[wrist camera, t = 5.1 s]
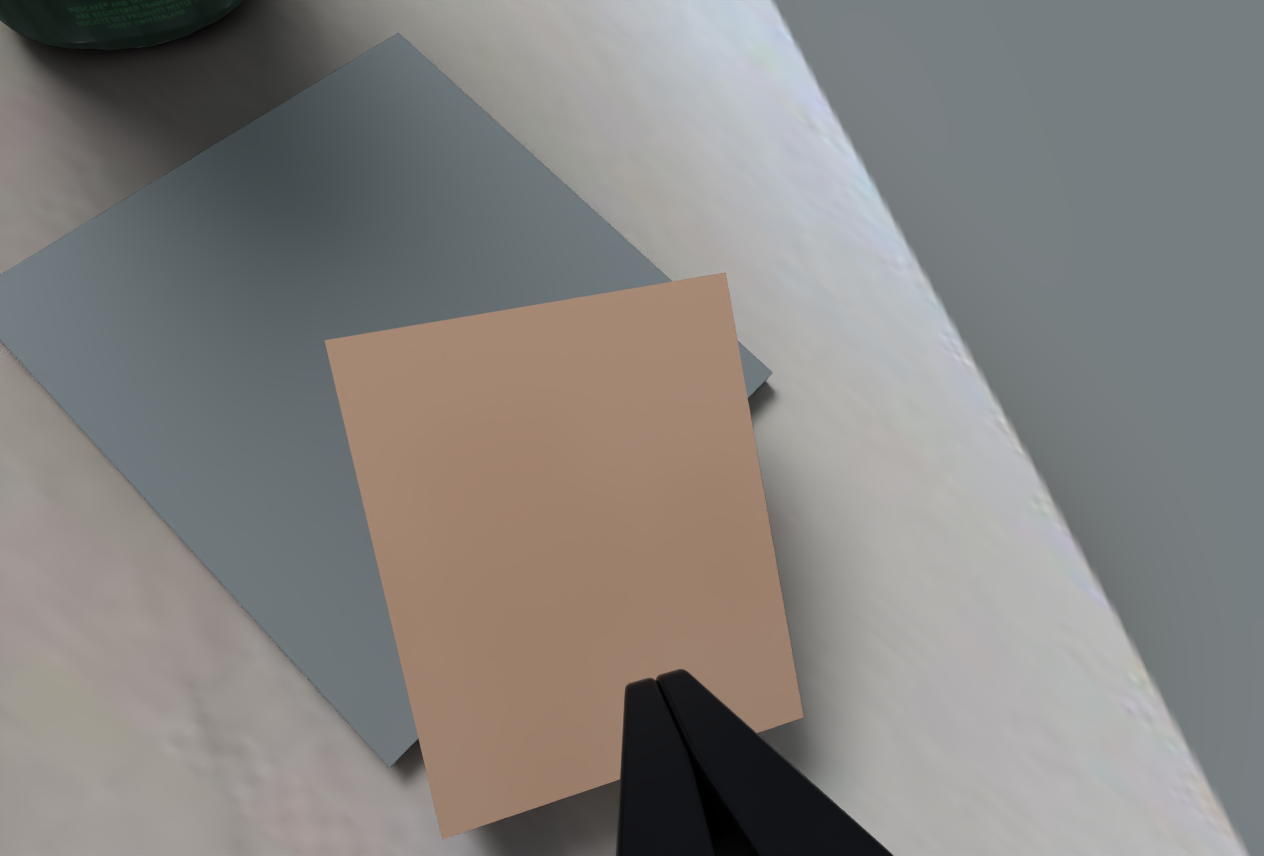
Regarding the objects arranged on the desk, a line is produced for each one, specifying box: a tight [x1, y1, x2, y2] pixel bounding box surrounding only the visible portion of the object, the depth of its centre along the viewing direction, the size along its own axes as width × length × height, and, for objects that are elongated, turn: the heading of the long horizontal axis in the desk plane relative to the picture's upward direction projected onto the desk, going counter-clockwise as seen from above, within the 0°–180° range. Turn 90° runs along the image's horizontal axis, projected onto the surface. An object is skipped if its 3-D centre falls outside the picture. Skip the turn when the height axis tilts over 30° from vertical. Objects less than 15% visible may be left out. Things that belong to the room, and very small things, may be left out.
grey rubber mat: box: [0, 33, 773, 768], centre depth 19 cm, size 16×14×1 cm
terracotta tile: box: [324, 273, 804, 839], centre depth 15 cm, size 2×8×10 cm
